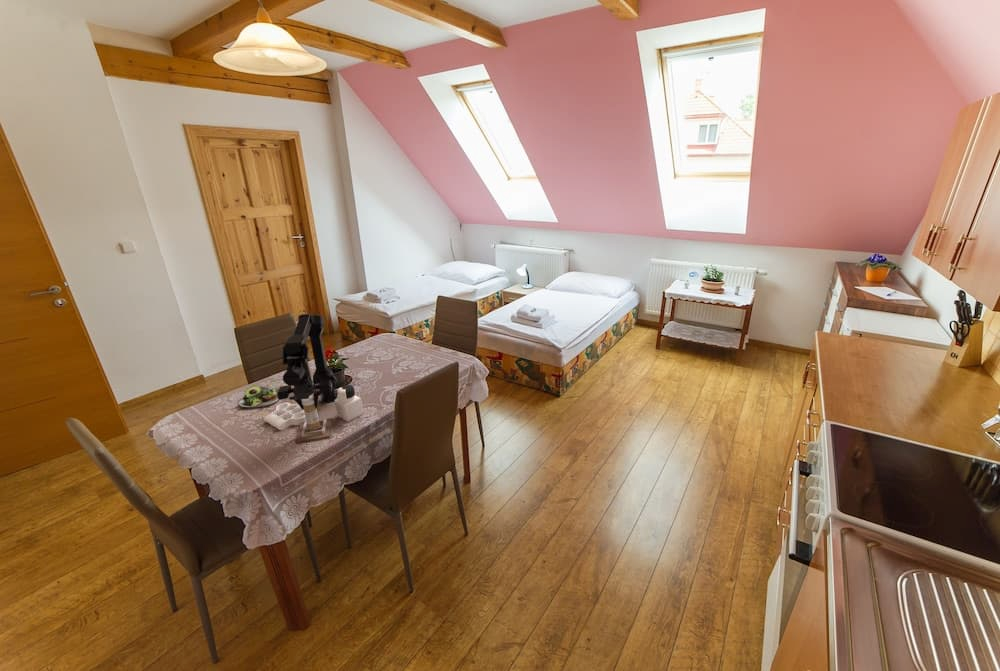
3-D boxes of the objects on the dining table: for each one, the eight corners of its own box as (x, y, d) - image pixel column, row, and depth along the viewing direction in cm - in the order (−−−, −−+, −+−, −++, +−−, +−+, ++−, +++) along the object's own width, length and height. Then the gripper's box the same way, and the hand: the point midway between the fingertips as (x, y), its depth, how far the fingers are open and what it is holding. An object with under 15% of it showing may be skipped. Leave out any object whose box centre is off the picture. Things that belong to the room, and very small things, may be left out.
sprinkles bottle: (317, 423, 169) (310, 394, 164) (322, 427, 166) (316, 398, 161) (306, 428, 166) (299, 398, 161) (311, 432, 163) (304, 403, 158)
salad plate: (294, 387, 201) (292, 378, 199) (281, 407, 185) (279, 397, 183) (251, 390, 199) (249, 382, 197) (235, 411, 182) (232, 402, 181)
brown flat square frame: (301, 424, 171) (300, 420, 170) (332, 419, 174) (331, 414, 173) (296, 443, 159) (294, 438, 158) (329, 437, 162) (328, 432, 161)
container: (353, 407, 182) (348, 381, 177) (363, 413, 177) (359, 386, 172) (337, 415, 176) (331, 388, 171) (347, 422, 172) (342, 394, 167)
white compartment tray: (261, 420, 175) (294, 404, 186) (284, 434, 165) (317, 417, 176) (259, 413, 174) (292, 398, 185) (282, 427, 164) (316, 410, 175)
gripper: (269, 386, 147) (279, 424, 153) (325, 378, 152) (333, 415, 158) (275, 372, 157) (285, 408, 163) (328, 365, 161) (336, 400, 167)
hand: (309, 408), depth 163 cm, fingers closed on sprinkles bottle, 4 cm apart
